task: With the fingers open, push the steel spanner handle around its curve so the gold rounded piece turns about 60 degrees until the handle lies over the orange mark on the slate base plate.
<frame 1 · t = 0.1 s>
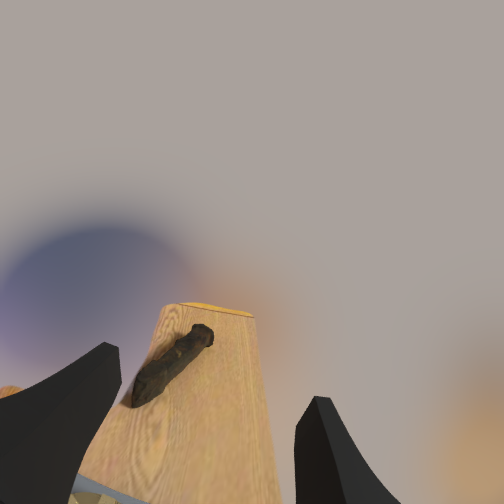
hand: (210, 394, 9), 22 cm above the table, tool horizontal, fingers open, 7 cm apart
hand tool: (175, 375, 38), on the table
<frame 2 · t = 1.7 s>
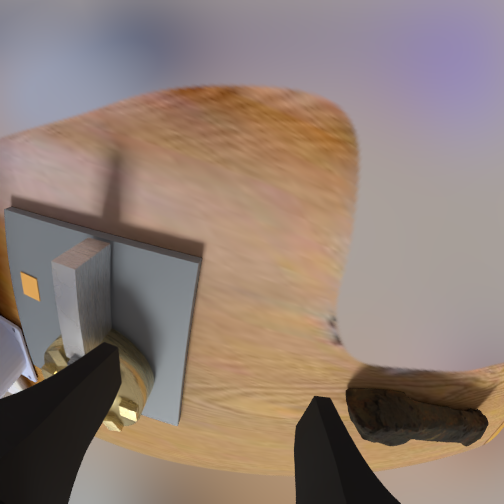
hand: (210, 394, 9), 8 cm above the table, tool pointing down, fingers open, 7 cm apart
base plate: (89, 326, 19), on the table
hand tool: (416, 408, 21), on the table
gold rounded piece: (89, 351, 16), point 3 cm above the table, hinge at 0.0°
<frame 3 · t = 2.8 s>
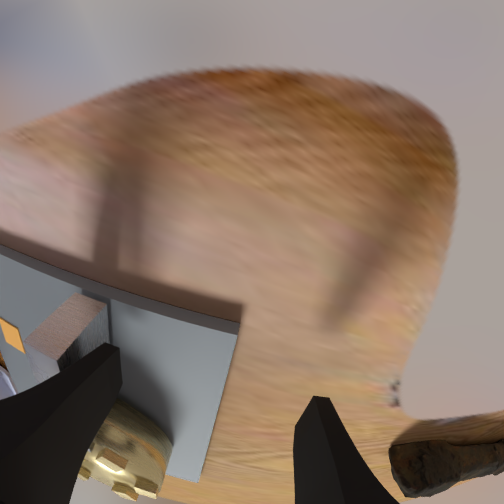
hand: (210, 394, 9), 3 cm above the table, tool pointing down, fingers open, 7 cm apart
base plate: (87, 385, 14), on the table
hand tool: (453, 448, 16), on the table
gold rounded piece: (91, 427, 11), point 3 cm above the table, hinge at 0.0°, touching gripper
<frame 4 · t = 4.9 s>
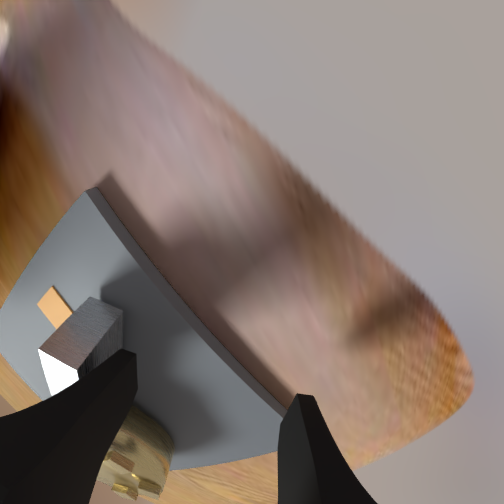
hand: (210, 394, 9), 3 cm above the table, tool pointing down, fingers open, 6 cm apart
base plate: (114, 388, 14), on the table
gold rounded piece: (96, 429, 11), point 3 cm above the table, hinge at 38.6°, touching gripper
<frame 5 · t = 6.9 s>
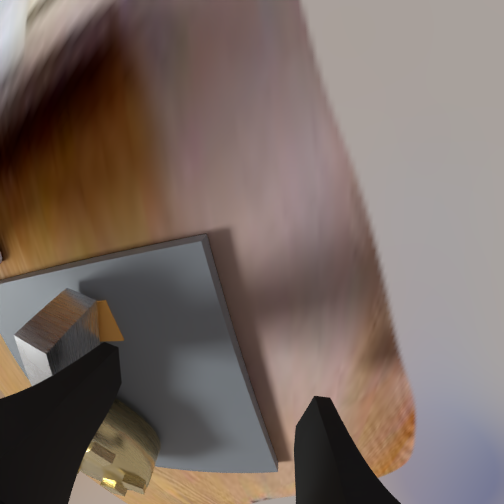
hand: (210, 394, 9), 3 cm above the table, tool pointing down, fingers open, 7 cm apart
base plate: (118, 391, 14), on the table
gold rounded piece: (80, 421, 11), point 3 cm above the table, hinge at 63.7°
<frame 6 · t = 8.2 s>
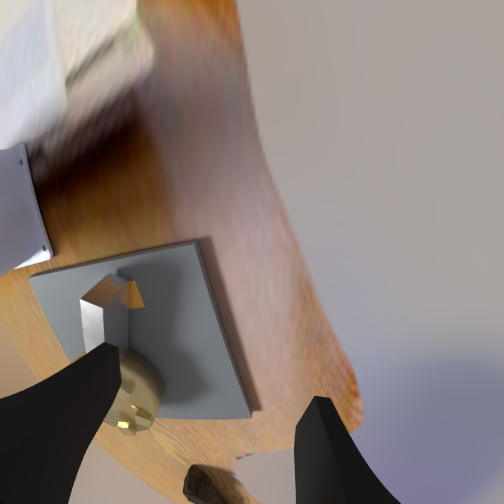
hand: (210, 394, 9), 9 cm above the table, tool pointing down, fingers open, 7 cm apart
base plate: (135, 350, 21), on the table
hand tool: (207, 487, 32), on the table
gold rounded piece: (108, 368, 18), point 3 cm above the table, hinge at 63.7°
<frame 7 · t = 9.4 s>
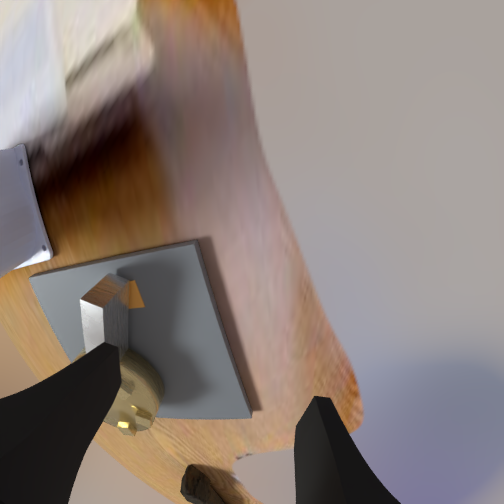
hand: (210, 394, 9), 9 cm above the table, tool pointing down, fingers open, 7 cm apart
base plate: (135, 350, 21), on the table
hand tool: (206, 487, 32), on the table
gold rounded piece: (108, 368, 18), point 3 cm above the table, hinge at 63.7°
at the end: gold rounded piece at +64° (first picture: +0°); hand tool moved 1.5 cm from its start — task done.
